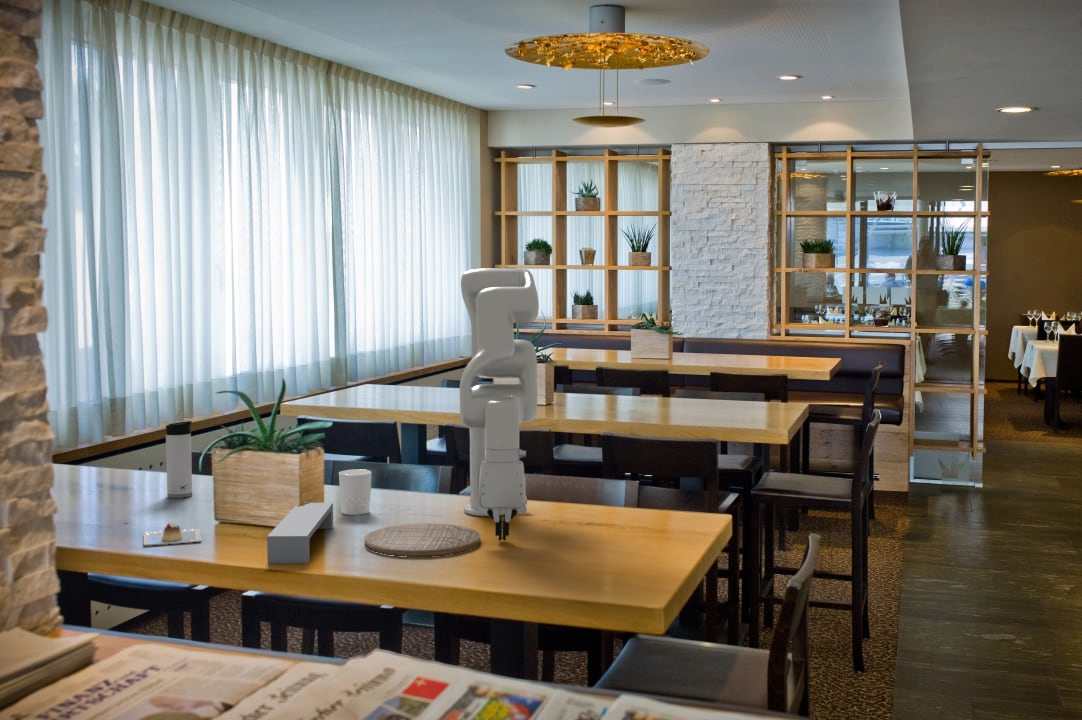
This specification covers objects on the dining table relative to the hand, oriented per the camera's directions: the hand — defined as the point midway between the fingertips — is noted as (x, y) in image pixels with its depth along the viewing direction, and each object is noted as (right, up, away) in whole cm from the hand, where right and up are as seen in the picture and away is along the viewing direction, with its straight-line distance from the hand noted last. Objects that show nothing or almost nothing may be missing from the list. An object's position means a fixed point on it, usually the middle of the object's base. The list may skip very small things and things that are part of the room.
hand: (502, 538), depth 241 cm
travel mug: (-87, +3, +50) cm, 101 cm away
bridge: (-43, -1, -1) cm, 43 cm away
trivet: (-17, -1, 0) cm, 17 cm away
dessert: (-73, -1, +3) cm, 73 cm away
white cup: (-37, +1, +31) cm, 48 cm away
